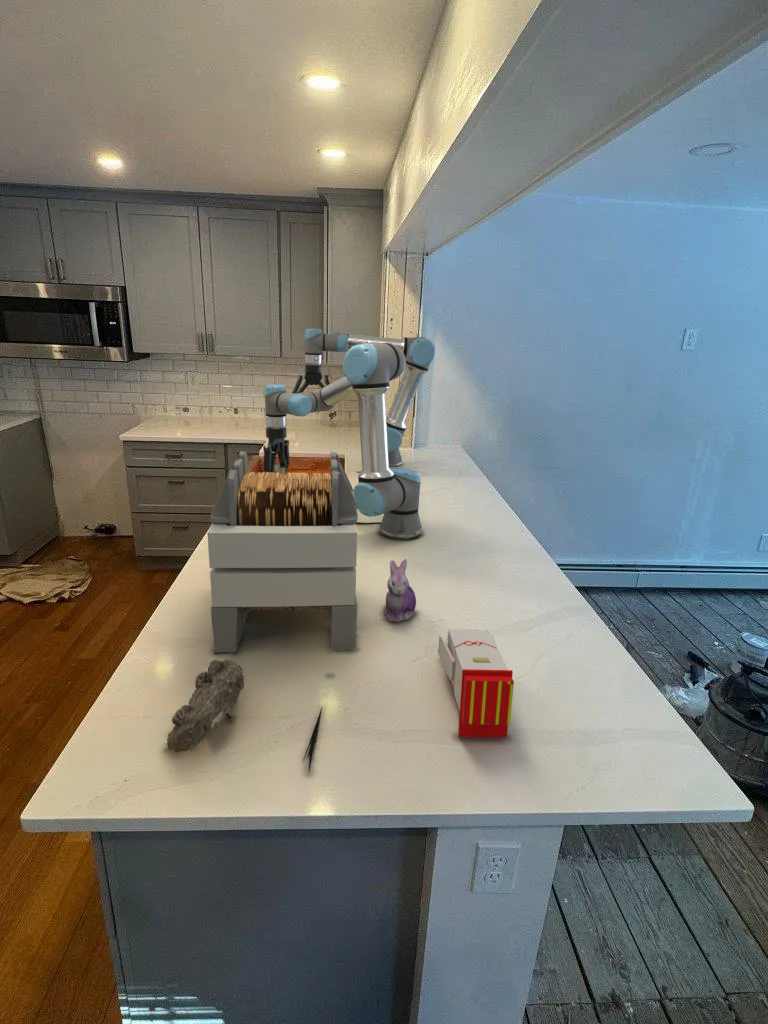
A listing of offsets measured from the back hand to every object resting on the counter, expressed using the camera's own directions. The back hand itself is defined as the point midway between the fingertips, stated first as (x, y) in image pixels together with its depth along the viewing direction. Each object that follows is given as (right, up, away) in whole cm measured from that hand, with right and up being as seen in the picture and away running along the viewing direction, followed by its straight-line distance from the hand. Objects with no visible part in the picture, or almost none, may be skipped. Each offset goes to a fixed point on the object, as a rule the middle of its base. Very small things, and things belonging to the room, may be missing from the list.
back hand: (313, 410), depth 266 cm
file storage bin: (+9, -74, -122) cm, 142 cm away
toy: (+51, -85, -147) cm, 178 cm away
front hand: (-8, -38, -48) cm, 61 cm away
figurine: (+37, -74, -118) cm, 145 cm away
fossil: (0, -87, -158) cm, 180 cm away
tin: (-8, -42, -46) cm, 63 cm away
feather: (+21, -87, -157) cm, 181 cm away
